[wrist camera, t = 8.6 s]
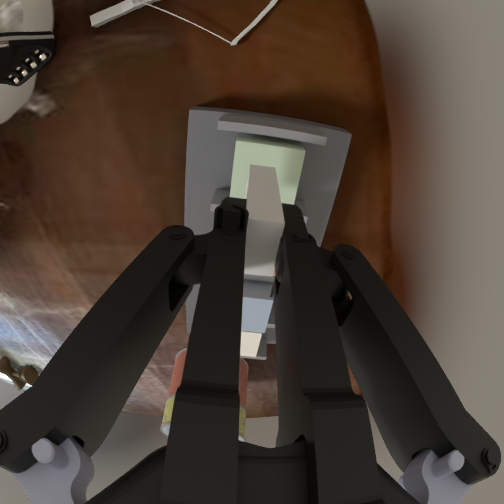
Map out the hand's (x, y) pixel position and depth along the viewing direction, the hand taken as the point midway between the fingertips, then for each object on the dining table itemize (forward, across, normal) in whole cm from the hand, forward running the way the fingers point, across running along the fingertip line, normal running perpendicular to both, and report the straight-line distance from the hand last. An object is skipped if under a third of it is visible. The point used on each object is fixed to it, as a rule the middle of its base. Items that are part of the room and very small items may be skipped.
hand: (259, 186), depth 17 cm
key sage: (+4, 0, 0) cm, 4 cm away
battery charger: (+7, -22, +9) cm, 25 cm away
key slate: (+3, 0, -12) cm, 12 cm away
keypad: (+7, 0, -9) cm, 11 cm away
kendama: (+8, -58, -59) cm, 83 cm away
